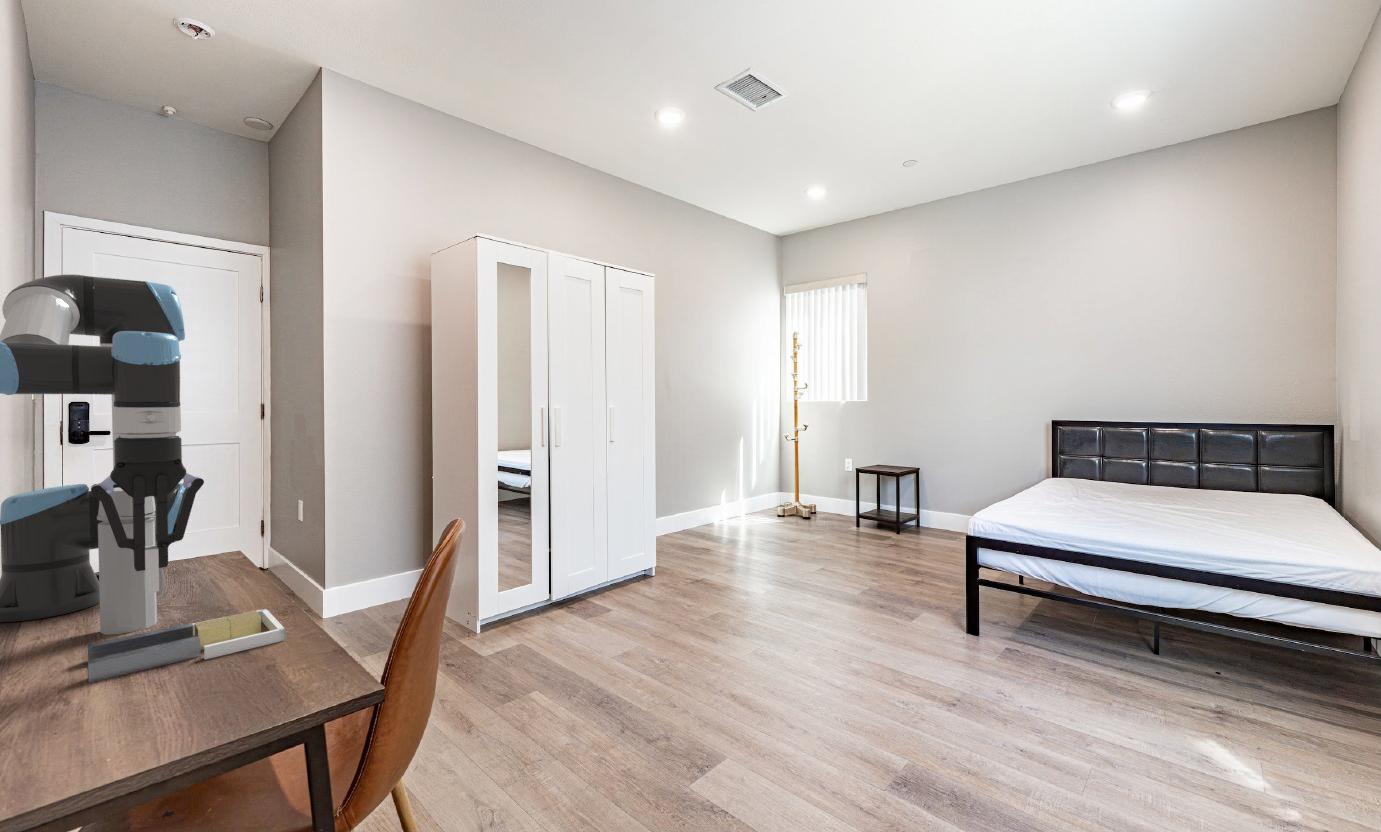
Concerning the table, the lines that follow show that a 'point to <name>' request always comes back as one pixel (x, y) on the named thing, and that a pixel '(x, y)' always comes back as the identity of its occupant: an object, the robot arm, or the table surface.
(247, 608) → the table surface
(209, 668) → the table surface
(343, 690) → the table surface
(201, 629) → the tan cube block
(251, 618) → the khaki cube block
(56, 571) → the robot arm
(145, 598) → the water bottle
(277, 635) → the white rectangular frame
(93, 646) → the slot rail
